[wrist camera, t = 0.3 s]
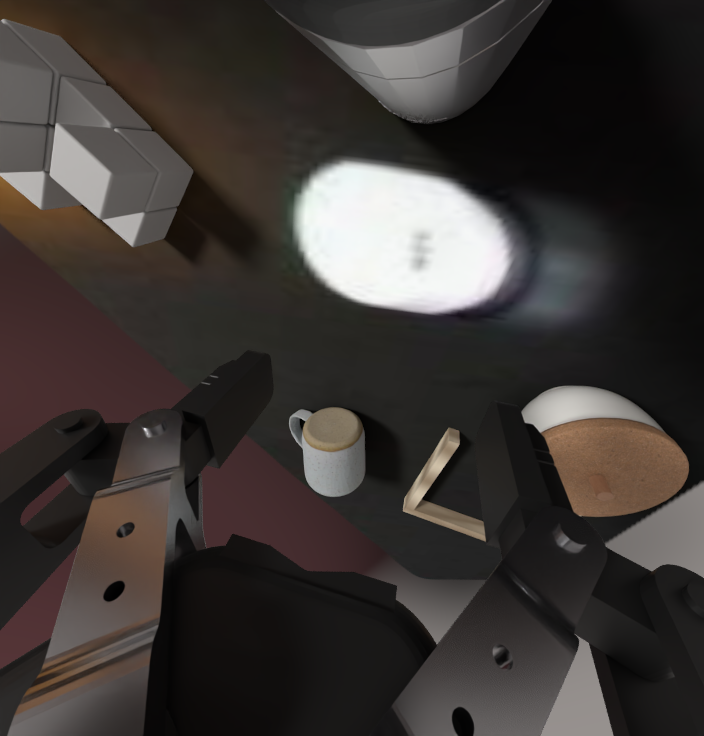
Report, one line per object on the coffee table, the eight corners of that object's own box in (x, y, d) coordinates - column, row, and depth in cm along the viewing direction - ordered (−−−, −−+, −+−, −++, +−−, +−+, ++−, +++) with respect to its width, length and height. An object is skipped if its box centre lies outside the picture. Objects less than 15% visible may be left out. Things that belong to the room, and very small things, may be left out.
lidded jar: (610, 453, 31) (663, 548, 23) (496, 442, 33) (510, 523, 26) (656, 366, 25) (747, 456, 17) (513, 362, 28) (537, 437, 20)
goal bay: (448, 427, 34) (449, 440, 32) (602, 479, 33) (610, 495, 31) (404, 498, 44) (403, 511, 42) (521, 540, 42) (524, 555, 41)
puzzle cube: (46, 173, 29) (-66, 177, 23) (61, 35, 22) (-91, -13, 16) (153, 266, 32) (81, 293, 26) (195, 170, 25) (112, 174, 19)
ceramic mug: (370, 407, 35) (353, 458, 29) (371, 452, 40) (356, 505, 34) (289, 394, 38) (258, 439, 32) (298, 438, 42) (273, 485, 36)
